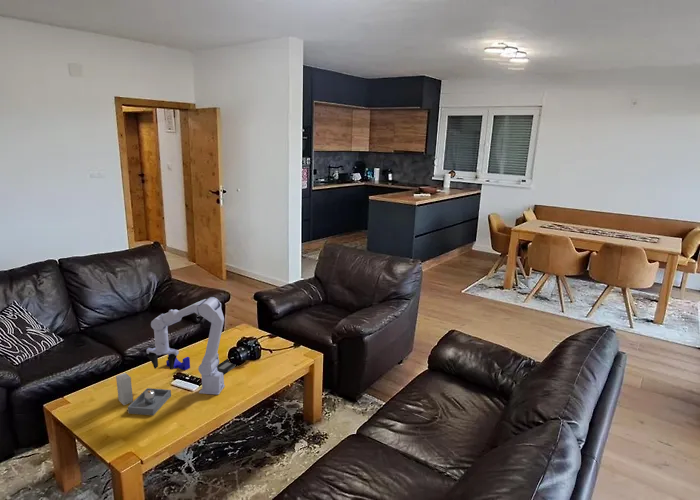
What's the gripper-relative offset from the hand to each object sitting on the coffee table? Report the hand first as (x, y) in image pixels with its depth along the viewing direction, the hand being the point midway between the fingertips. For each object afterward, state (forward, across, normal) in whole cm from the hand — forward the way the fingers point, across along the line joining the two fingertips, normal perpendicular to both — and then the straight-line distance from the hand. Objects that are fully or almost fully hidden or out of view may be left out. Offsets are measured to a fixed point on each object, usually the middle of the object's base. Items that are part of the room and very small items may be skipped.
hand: (163, 368), depth 208 cm
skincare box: (+10, -11, -14) cm, 20 cm away
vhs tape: (+10, +21, +21) cm, 31 cm away
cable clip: (+10, -3, +19) cm, 21 cm away
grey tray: (+9, +1, -15) cm, 18 cm away
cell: (+8, +1, -15) cm, 17 cm away
